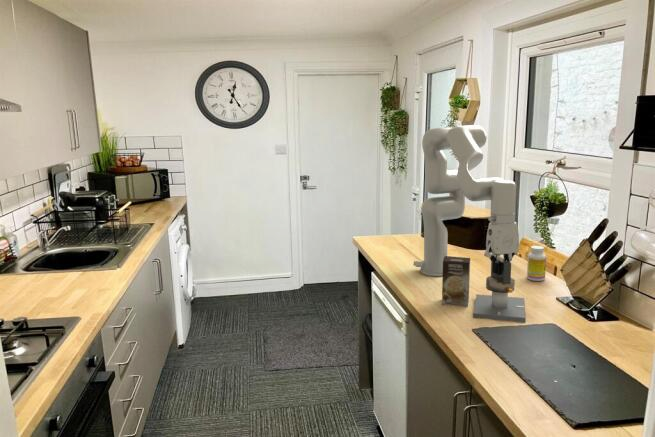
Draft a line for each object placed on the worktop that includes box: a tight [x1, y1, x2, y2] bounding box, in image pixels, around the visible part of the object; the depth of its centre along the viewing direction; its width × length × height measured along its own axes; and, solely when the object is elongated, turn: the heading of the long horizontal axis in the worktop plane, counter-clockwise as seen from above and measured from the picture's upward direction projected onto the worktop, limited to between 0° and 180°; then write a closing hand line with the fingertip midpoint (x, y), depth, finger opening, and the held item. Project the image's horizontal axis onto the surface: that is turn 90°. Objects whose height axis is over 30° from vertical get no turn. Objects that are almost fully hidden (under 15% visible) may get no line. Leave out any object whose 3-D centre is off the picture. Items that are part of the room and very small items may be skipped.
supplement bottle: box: [526, 245, 547, 282], centre depth 202 cm, size 7×7×13 cm
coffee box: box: [441, 255, 471, 308], centre depth 180 cm, size 9×6×16 cm
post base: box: [472, 291, 527, 323], centre depth 173 cm, size 16×18×7 cm
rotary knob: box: [485, 255, 516, 294], centre depth 170 cm, size 12×9×10 cm
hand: (501, 272), depth 171 cm, fingers closed on rotary knob, 3 cm apart
